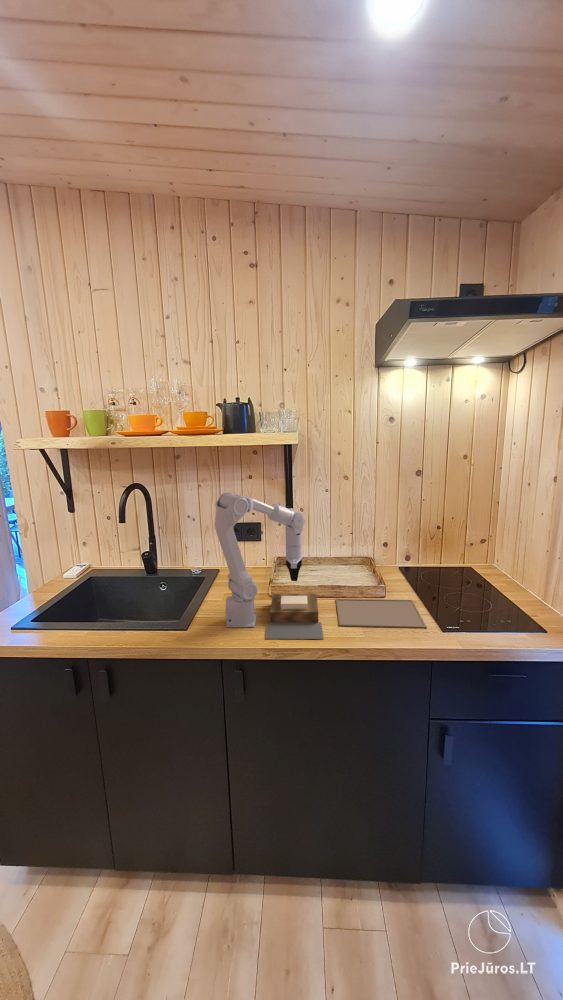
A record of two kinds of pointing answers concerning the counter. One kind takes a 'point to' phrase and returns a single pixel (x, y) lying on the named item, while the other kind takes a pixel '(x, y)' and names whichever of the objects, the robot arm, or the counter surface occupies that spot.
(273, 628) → the mat
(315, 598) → the brown wooden flat block
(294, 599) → the beige rectangular block
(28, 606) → the counter surface
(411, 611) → the taupe placemat
